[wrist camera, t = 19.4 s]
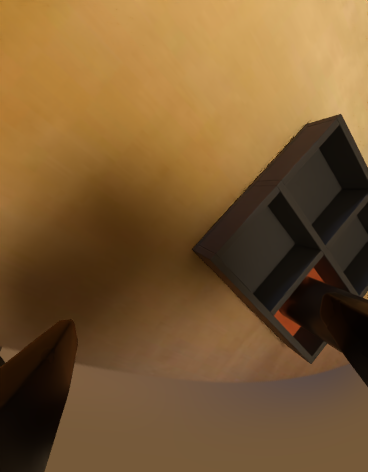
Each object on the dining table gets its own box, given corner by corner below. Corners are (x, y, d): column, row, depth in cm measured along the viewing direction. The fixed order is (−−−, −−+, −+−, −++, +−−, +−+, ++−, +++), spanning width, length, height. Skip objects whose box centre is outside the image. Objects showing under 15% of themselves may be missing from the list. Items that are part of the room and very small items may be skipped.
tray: (284, 343, 27) (311, 364, 24) (191, 249, 21) (210, 260, 18) (370, 237, 29) (405, 243, 26) (306, 123, 23) (341, 113, 20)
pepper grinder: (270, 313, 25) (440, 428, 13) (285, 269, 25) (474, 345, 13) (303, 319, 27) (479, 425, 15) (317, 278, 26) (509, 352, 14)
